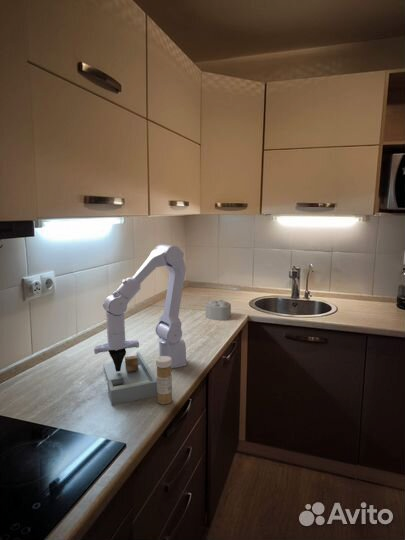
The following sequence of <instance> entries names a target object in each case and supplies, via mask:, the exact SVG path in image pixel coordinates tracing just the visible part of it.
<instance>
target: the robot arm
mask: <svg viewBox="0 0 405 540" xmlns="http://www.w3.org/2000/svg"><path fill="white" fill-rule="evenodd" d="M184 254H185V253H184V252H183V250H181V248H180V247H179V246H177V245H168V244H164V243H159V244H158V245H157V246H155V247H154V249H153V250H152V251H151V252H150V254H149V255H148V257H147V258H146V259H145V261H144V262H143V264H141V266H140V267H139V268H138V269H137V271H136V272H135V274H134V275H133V276H131V277H126V279H124V278H123V279H122V280H121V284H120V285H119V287H118V288H117V289H116V290H115V291H112V293H111V294H110V295H109V296H107V297H106V298H105V300H104V303H103V304H102V307H103V308H104V310H105V311H106V333H107V343H103V344H99V345H95V346H93V353H94V354H95V355H97V354H99V353H105V352H108V353H109V356H110V357H111V359H112V361H113V362H112V363H114V365H115V370H116V372H118V371H121V365H122V361H124V360H125V357H126V354H127V350H126V349H132V348H140V341H139V340H138V339H137V340H136V339H135V340H126V327H125V312H126V311H127V308H128V304H129V303H130V301H132V299H133V298H134V297H135V296H136V295H137V294H138V293H139V291H140V290H141V284H142V283H143V282H144V281H145V280H146V279H147V277H148V276H149V275H151V274H152V272H153V271H154V270H156V268H159V267H165V268H167V270H168V271H169V275H168V283H167V290H166V297H165V303H164V307H163V309H164V310H163V314H162V315H161V316H159V320H158V322H157V324H156V326H155V329H154V330H155V331H154V332H155V333H156V336H158V349H159V350H158V351H159V354H158V357H160V356H169V357H171V359H172V366H171V369H176V368H180V367H186V366H187V347H186V346H187V345H186V342H185V340H184V339H183V330H182V325H183V324H182V322H181V320H180V317H179V315H180V307H181V303H182V295H183V288H184V282H185V276H186V270H187V269H186V263H185V260H184Z"/></svg>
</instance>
